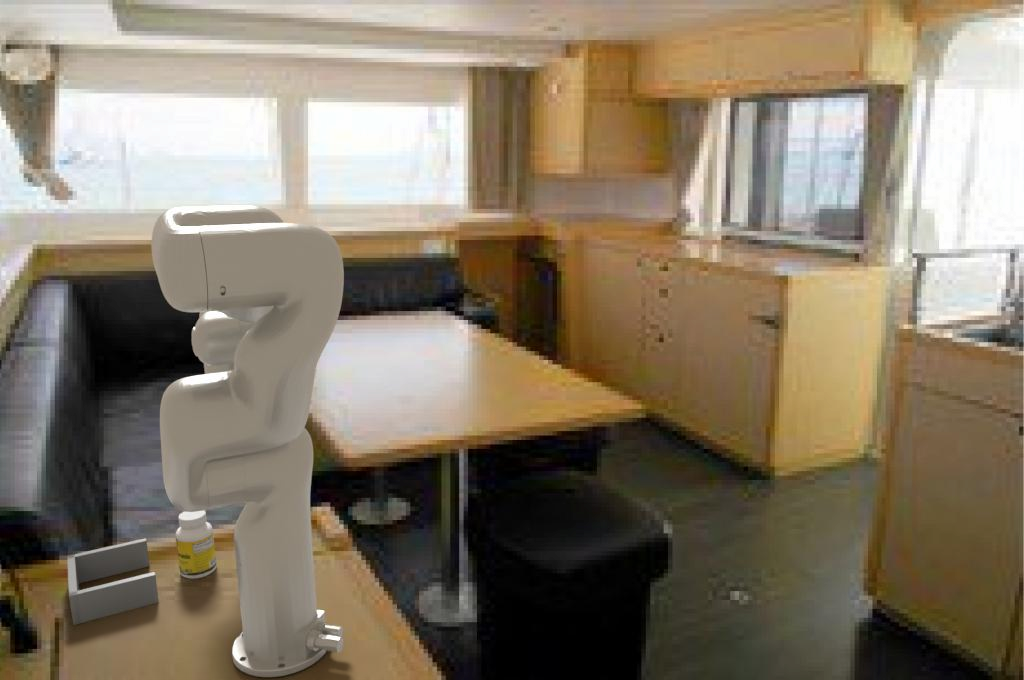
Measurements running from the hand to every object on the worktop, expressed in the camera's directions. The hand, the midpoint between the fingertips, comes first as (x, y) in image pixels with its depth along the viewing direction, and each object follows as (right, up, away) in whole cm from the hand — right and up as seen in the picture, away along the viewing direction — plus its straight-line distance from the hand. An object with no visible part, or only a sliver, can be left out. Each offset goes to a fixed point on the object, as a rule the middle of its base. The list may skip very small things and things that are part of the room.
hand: (241, 490), depth 123 cm
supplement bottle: (-6, -13, -2) cm, 14 cm away
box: (-17, -14, -8) cm, 23 cm away
